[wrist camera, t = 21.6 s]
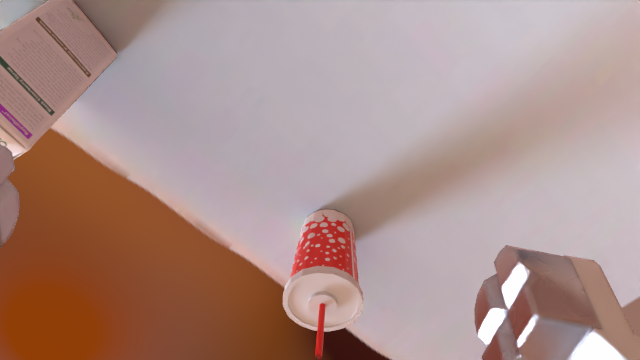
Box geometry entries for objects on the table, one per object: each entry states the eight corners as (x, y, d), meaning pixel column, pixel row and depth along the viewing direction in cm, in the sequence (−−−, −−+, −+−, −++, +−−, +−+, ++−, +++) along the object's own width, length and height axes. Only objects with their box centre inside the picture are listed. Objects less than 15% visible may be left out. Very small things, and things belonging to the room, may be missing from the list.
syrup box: (65, -12, 40) (-64, 62, 28) (122, 56, 42) (27, 152, 30) (11, 29, 42) (-132, 116, 30) (69, 92, 44) (-41, 197, 32)
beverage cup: (280, 218, 50) (256, 343, 38) (341, 191, 48) (335, 313, 36) (316, 265, 52) (303, 395, 41) (374, 241, 51) (379, 370, 39)
